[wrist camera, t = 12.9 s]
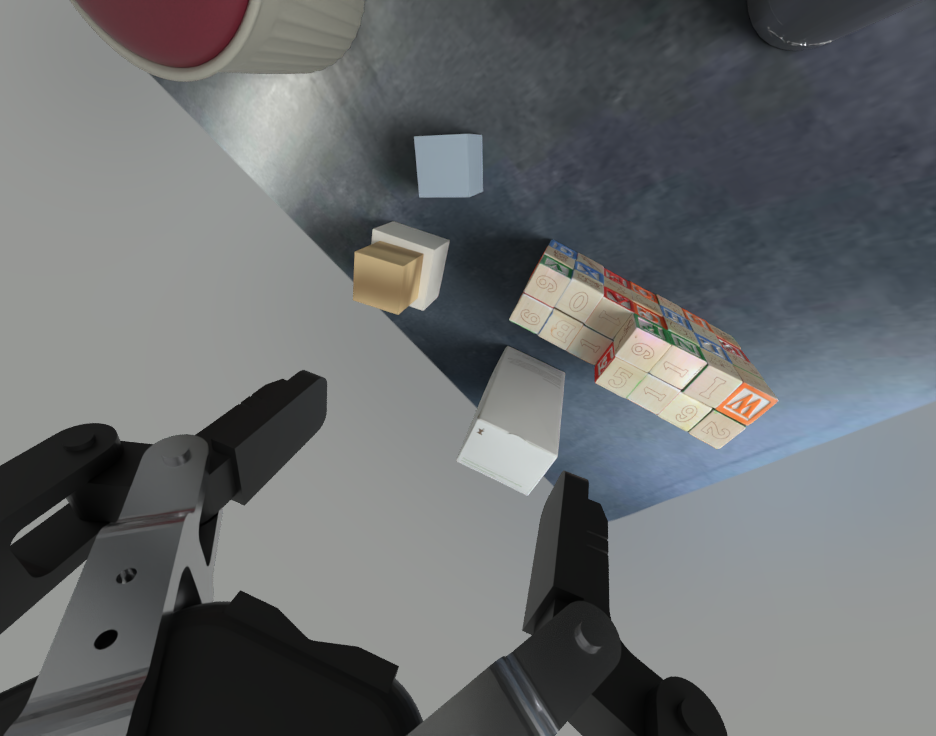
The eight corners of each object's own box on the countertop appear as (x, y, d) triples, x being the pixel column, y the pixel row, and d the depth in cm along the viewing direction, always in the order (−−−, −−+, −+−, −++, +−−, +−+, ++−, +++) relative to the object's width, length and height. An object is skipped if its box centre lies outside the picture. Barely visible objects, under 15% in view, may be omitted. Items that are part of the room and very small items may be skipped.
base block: (394, 220, 44) (372, 228, 40) (450, 239, 43) (434, 250, 39) (387, 277, 48) (366, 290, 44) (438, 296, 47) (423, 310, 43)
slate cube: (434, 137, 38) (413, 136, 34) (482, 134, 37) (467, 133, 33) (437, 192, 41) (419, 197, 37) (483, 191, 39) (469, 197, 35)
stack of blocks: (523, 288, 43) (499, 332, 33) (551, 237, 40) (534, 269, 30) (691, 379, 43) (719, 452, 33) (735, 335, 39) (782, 403, 29)
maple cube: (379, 240, 40) (354, 251, 36) (423, 253, 39) (403, 266, 35) (376, 285, 43) (353, 300, 39) (417, 298, 42) (398, 314, 38)
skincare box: (488, 380, 51) (449, 461, 38) (508, 340, 47) (473, 415, 34) (545, 409, 50) (526, 500, 37) (570, 371, 46) (558, 458, 34)
